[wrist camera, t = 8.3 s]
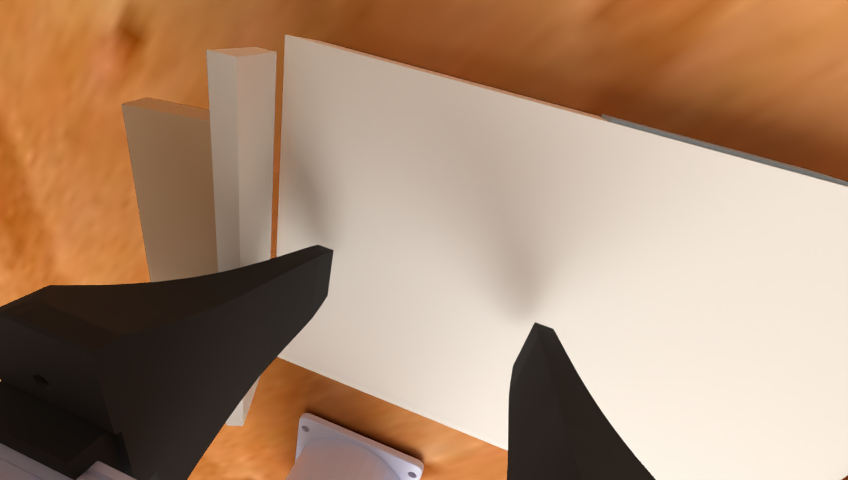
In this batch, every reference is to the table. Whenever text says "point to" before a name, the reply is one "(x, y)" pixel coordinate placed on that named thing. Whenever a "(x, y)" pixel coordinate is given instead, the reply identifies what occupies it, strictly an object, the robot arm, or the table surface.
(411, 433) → the table surface
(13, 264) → the table surface
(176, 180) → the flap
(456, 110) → the carton
